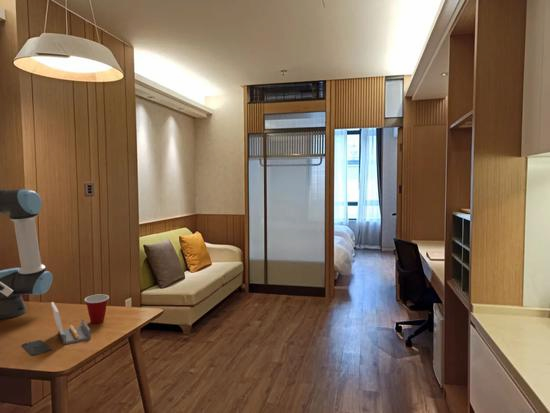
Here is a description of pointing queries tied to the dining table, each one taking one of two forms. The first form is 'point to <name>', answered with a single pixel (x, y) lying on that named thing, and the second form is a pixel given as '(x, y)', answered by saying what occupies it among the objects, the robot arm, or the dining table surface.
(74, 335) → the cable duct
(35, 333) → the dining table surface
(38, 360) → the dining table surface
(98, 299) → the plastic cup
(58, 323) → the block
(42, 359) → the dining table surface
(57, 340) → the dining table surface
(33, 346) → the smartphone
